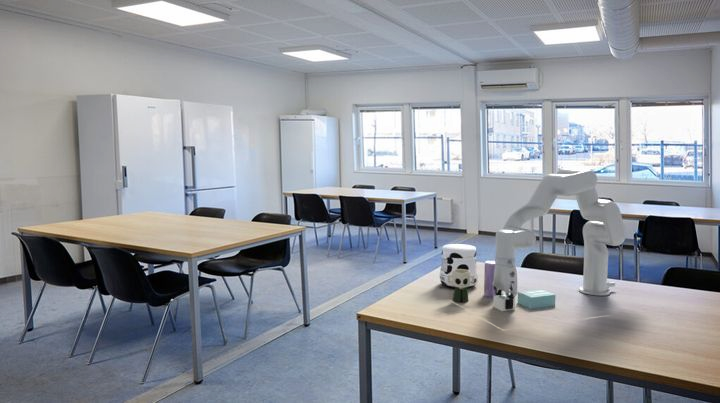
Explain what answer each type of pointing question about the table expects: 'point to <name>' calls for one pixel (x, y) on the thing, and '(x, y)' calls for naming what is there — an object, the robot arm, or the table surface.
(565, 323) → the table surface
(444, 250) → the milk container
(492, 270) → the beverage can
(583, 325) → the table surface
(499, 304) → the white box
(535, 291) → the striped teal box
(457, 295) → the character mug
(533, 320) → the table surface
